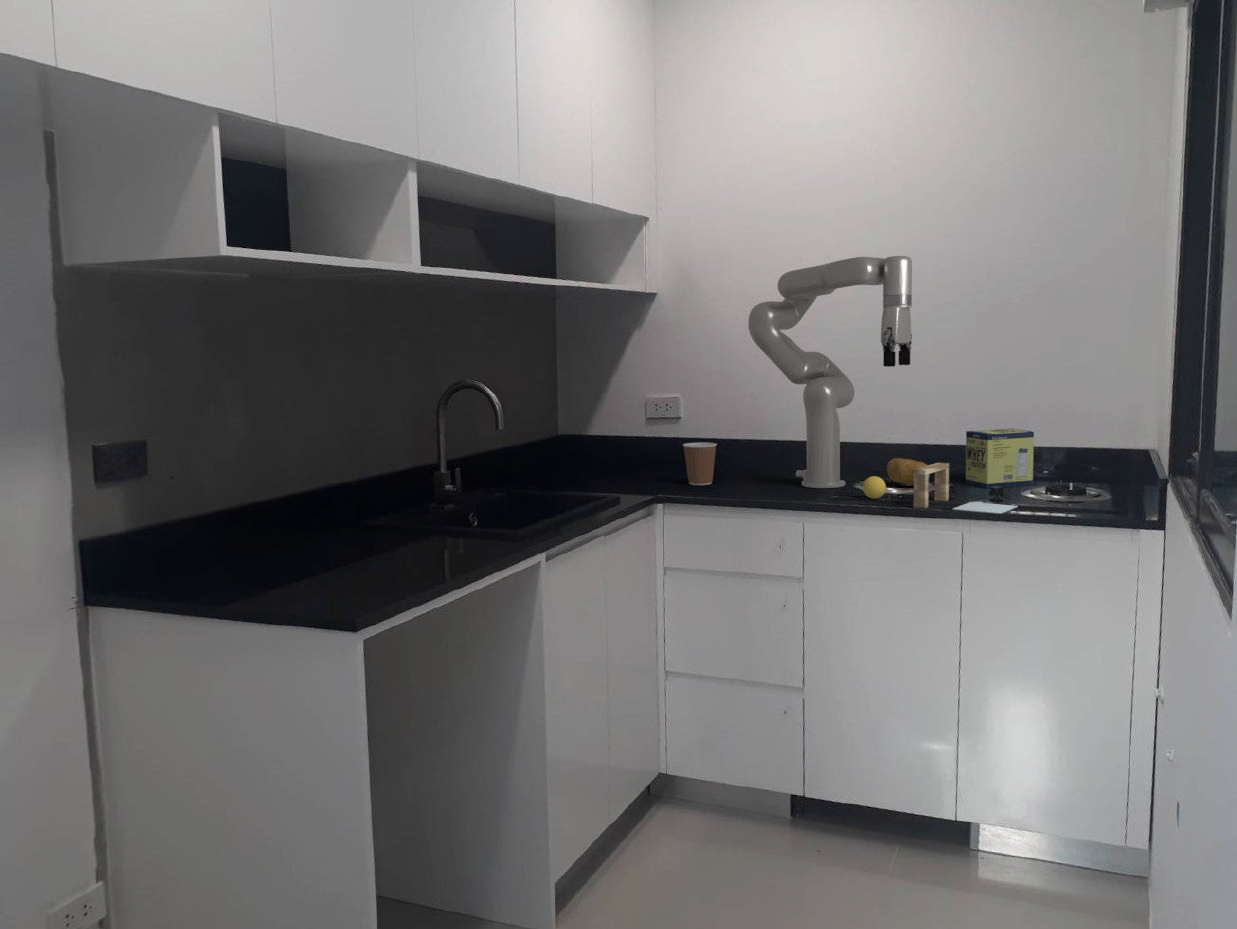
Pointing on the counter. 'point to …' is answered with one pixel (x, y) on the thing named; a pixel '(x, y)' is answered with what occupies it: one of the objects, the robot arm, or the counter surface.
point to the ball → (874, 487)
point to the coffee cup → (700, 462)
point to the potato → (903, 470)
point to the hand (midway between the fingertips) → (897, 365)
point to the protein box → (999, 458)
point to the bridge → (923, 481)
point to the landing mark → (985, 507)
